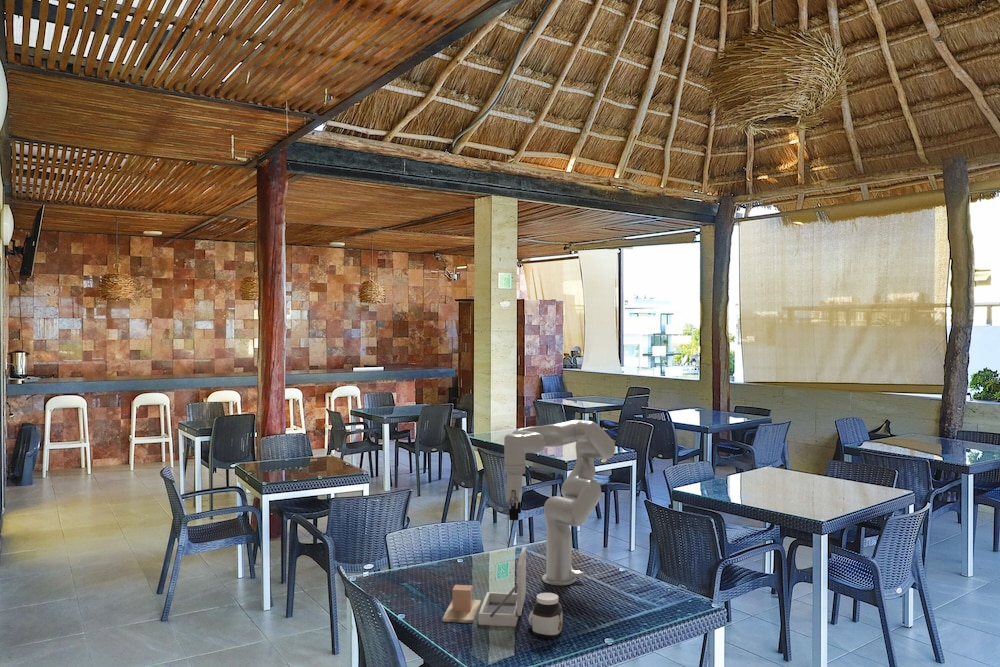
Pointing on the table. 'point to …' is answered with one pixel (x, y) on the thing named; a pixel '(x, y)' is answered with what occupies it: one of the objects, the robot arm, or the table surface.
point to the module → (462, 598)
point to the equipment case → (506, 600)
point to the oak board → (461, 614)
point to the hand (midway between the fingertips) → (515, 516)
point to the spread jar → (546, 616)
